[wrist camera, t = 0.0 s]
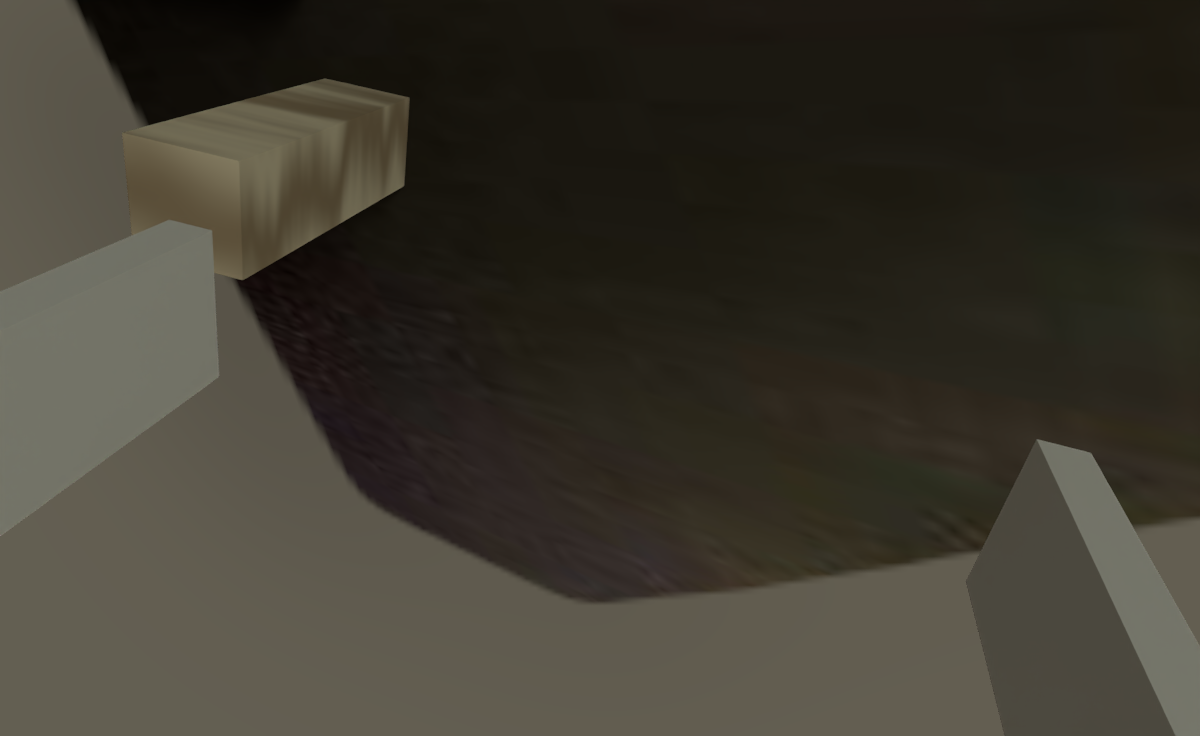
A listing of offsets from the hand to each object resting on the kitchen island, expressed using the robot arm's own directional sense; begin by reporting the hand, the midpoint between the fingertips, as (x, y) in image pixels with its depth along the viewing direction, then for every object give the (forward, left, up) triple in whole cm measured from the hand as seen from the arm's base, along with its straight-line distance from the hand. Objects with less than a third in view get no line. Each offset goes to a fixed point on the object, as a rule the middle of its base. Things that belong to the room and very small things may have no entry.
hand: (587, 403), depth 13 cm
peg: (+5, -17, -28) cm, 33 cm away
